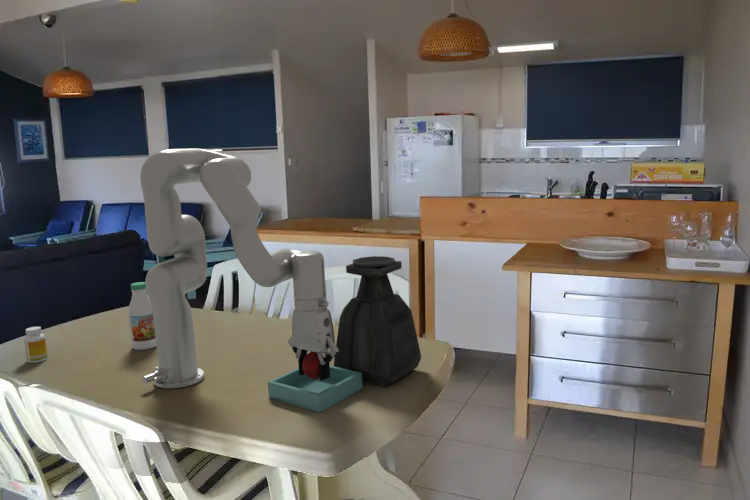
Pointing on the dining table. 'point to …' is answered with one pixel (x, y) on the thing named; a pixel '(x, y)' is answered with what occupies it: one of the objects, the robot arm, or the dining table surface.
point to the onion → (311, 365)
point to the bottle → (377, 326)
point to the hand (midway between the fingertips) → (314, 375)
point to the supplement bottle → (35, 345)
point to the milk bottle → (141, 318)
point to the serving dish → (315, 388)
